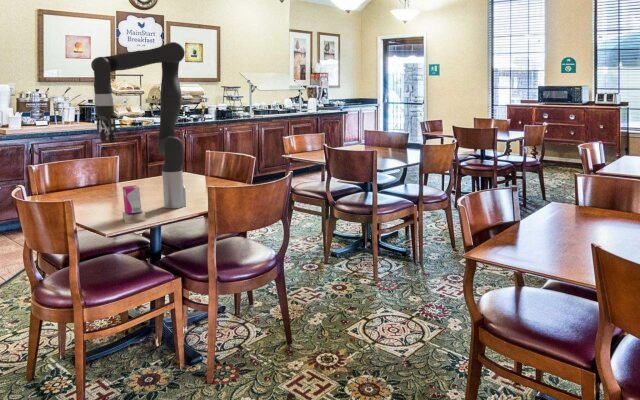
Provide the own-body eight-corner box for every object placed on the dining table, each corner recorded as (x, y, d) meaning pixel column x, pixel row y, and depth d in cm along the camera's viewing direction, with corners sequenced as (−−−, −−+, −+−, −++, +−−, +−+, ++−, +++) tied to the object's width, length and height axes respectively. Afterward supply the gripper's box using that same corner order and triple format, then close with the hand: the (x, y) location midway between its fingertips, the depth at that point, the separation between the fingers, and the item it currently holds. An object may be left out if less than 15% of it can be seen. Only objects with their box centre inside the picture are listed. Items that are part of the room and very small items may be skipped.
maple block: (142, 217, 238) (141, 210, 237) (145, 221, 231) (145, 214, 230) (123, 220, 234) (122, 212, 233) (126, 224, 227) (125, 216, 226)
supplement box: (138, 210, 236) (136, 184, 234) (141, 213, 231) (139, 186, 229) (124, 212, 233) (122, 186, 231) (127, 215, 228) (125, 188, 226)
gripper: (119, 104, 232) (122, 142, 235) (105, 104, 242) (109, 140, 245) (102, 105, 227) (105, 144, 230) (89, 104, 237) (92, 141, 240)
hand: (107, 142), depth 238 cm, fingers open, 8 cm apart
